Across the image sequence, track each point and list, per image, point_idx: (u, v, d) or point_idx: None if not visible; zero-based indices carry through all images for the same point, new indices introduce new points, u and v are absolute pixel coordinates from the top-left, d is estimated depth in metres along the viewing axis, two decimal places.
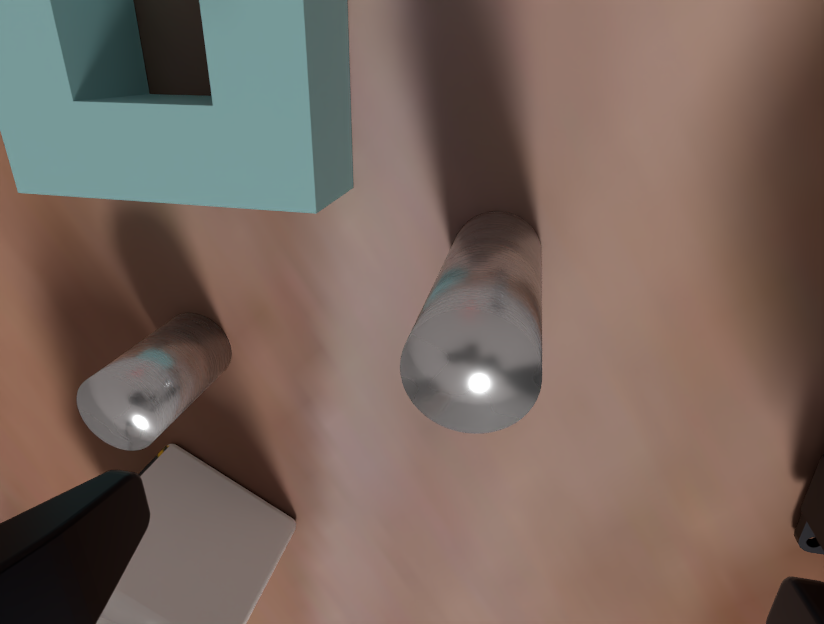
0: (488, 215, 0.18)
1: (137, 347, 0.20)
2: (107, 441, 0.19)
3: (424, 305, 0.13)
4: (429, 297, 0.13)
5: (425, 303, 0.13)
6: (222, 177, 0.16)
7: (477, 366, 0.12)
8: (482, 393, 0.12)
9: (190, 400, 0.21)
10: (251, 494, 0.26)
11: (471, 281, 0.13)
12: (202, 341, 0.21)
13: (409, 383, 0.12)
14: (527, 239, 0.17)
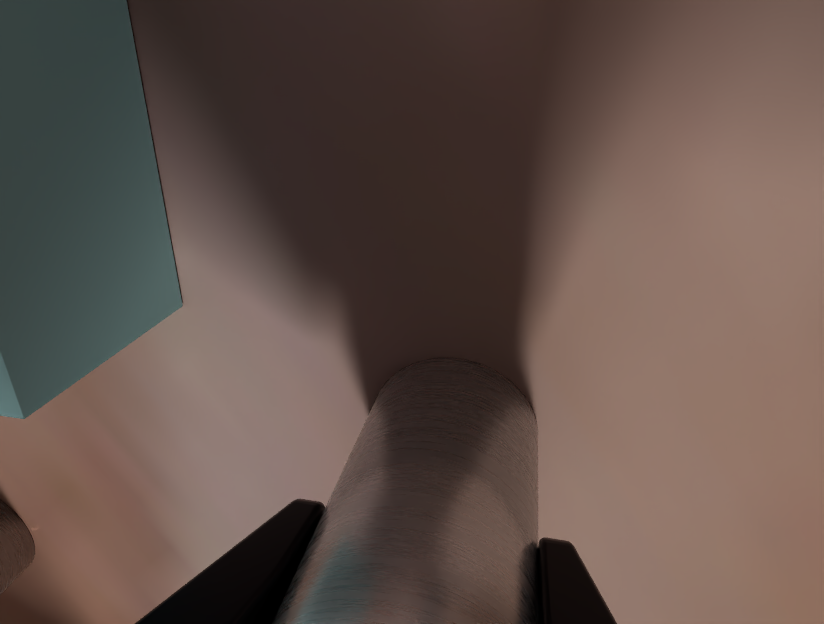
0: (431, 372, 0.09)
1: None
2: None
3: None
4: None
5: None
6: None
7: None
8: None
9: None
10: None
11: None
12: None
13: None
14: (507, 447, 0.08)
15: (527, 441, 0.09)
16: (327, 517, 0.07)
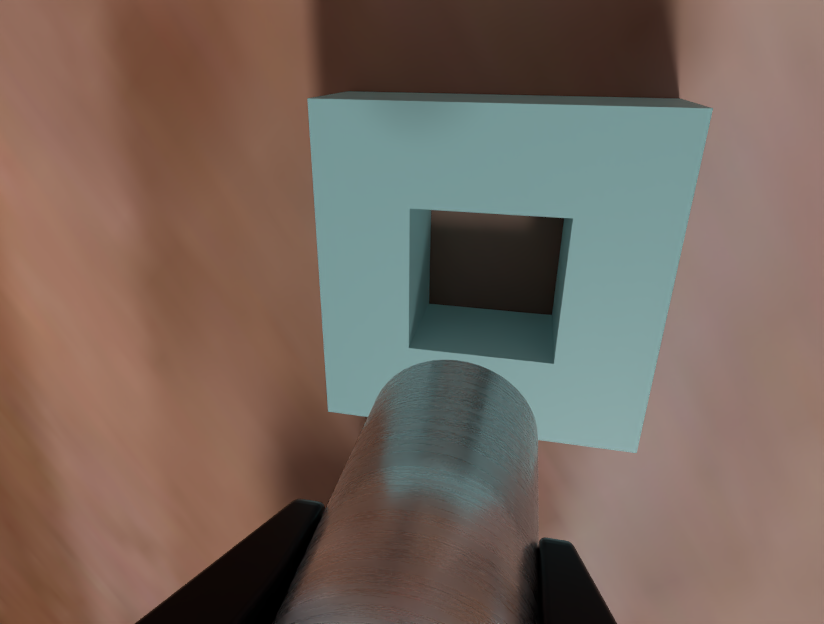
0: (431, 373, 0.09)
1: None
2: None
3: None
4: None
5: None
6: (546, 417, 0.17)
7: None
8: None
9: None
10: None
11: None
12: None
13: None
14: (506, 450, 0.08)
15: (527, 443, 0.09)
16: (326, 520, 0.07)
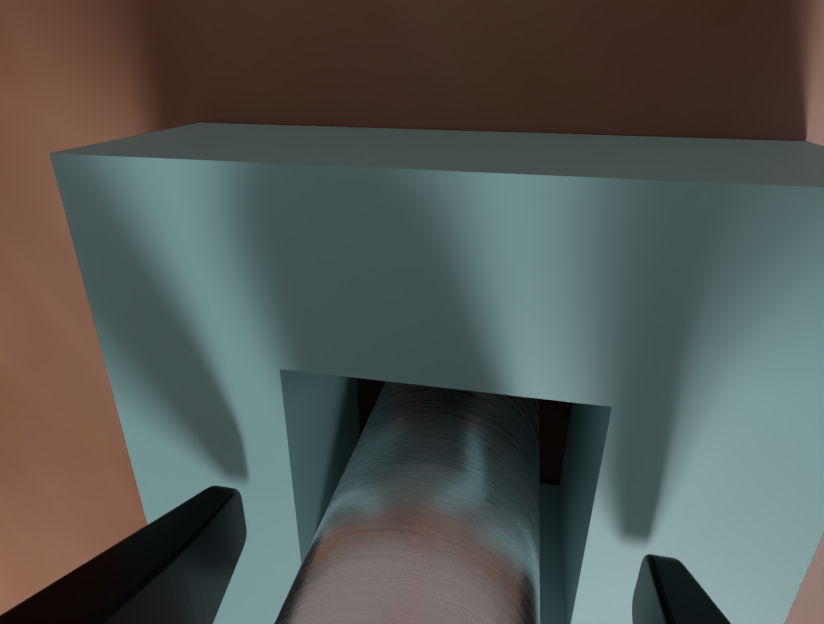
0: None
1: None
2: None
3: None
4: (281, 618, 0.06)
5: None
6: None
7: None
8: None
9: None
10: None
11: (366, 620, 0.05)
12: None
13: None
14: None
15: None
16: (362, 444, 0.08)
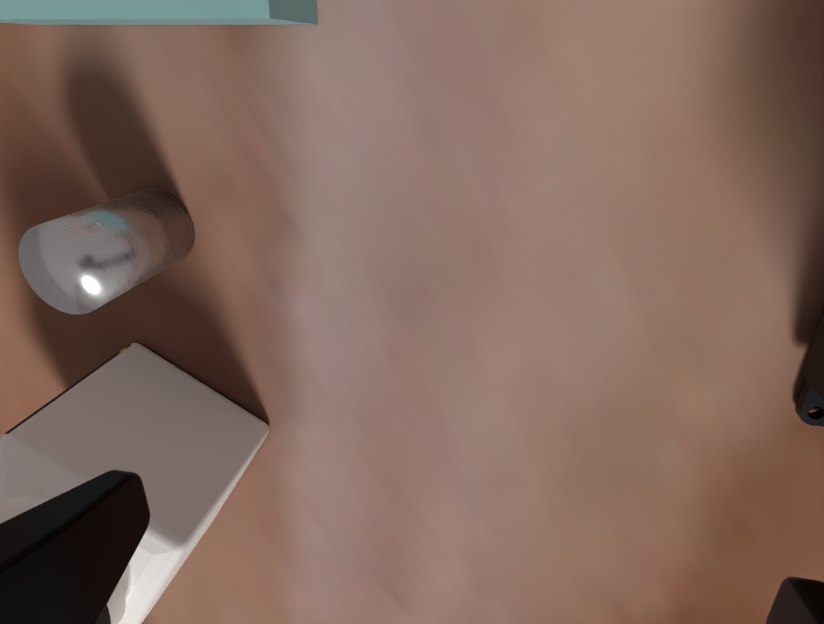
0: None
1: (87, 208, 0.18)
2: (54, 305, 0.18)
3: None
4: None
5: None
6: None
7: None
8: None
9: (146, 269, 0.19)
10: (221, 396, 0.24)
11: None
12: (160, 211, 0.20)
13: None
14: None
15: None
16: None
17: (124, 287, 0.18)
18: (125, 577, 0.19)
